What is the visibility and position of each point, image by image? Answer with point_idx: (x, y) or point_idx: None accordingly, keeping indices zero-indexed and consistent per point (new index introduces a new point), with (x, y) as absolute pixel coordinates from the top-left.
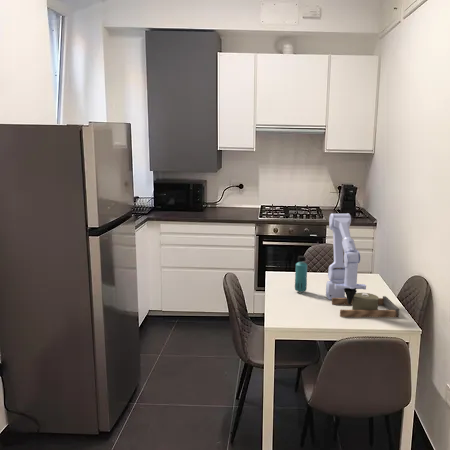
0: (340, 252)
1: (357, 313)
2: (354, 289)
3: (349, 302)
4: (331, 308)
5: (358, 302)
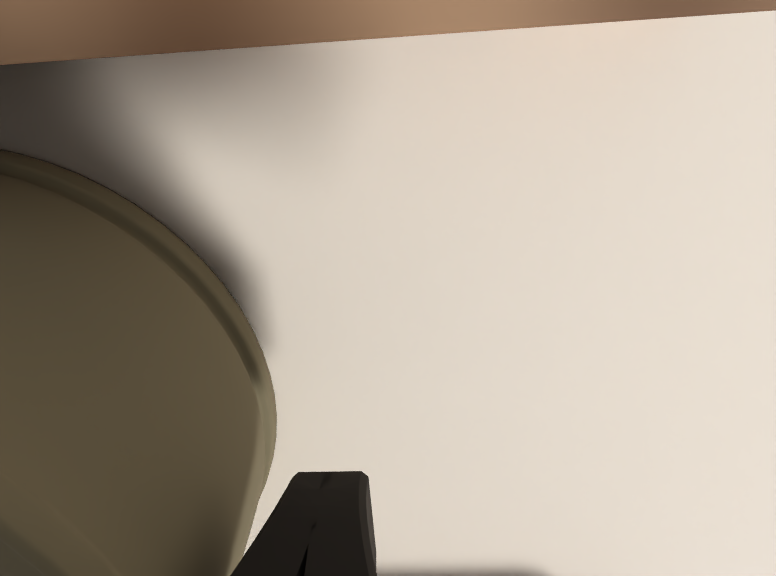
0: None
1: None
2: None
3: (339, 498)
4: (711, 458)
5: (16, 389)
